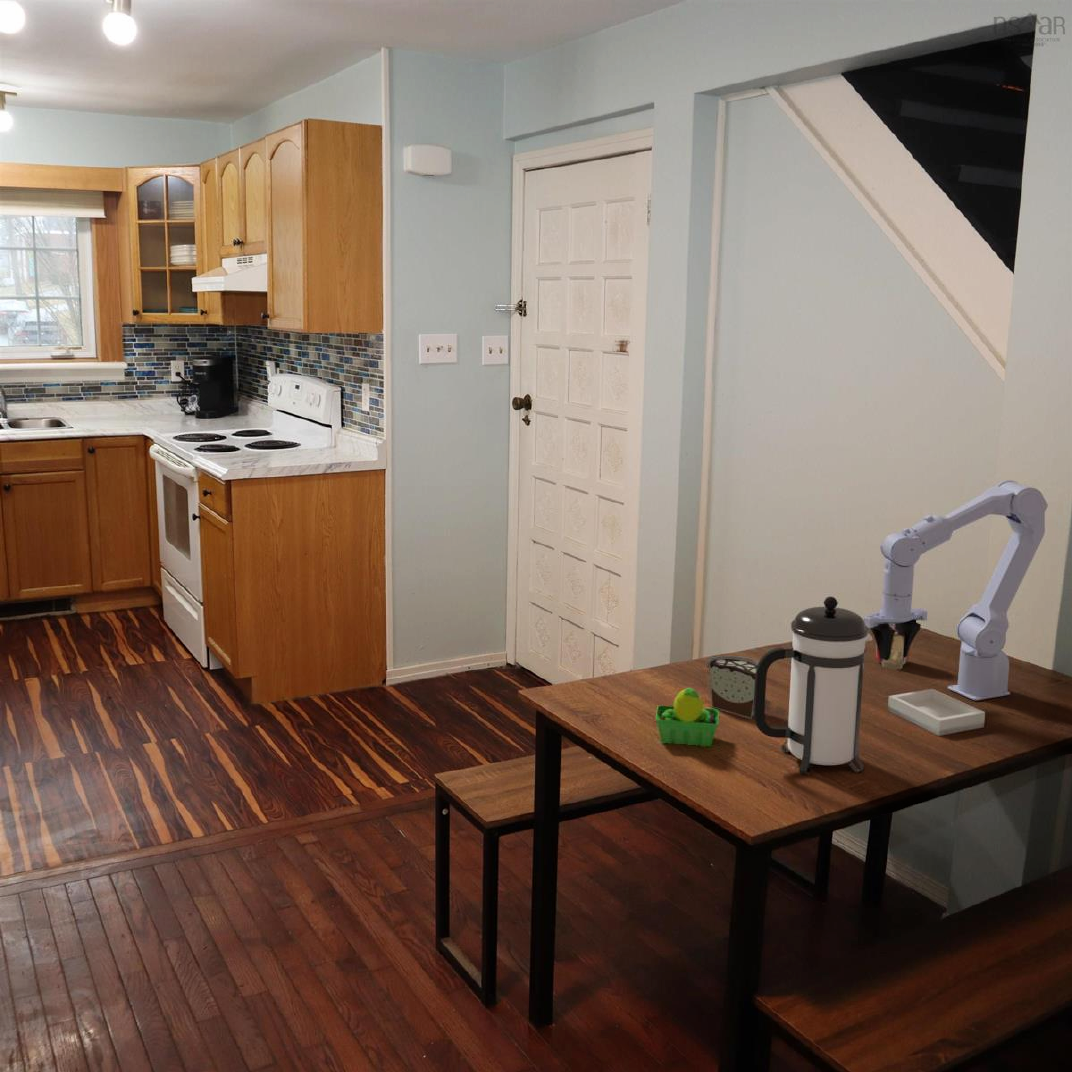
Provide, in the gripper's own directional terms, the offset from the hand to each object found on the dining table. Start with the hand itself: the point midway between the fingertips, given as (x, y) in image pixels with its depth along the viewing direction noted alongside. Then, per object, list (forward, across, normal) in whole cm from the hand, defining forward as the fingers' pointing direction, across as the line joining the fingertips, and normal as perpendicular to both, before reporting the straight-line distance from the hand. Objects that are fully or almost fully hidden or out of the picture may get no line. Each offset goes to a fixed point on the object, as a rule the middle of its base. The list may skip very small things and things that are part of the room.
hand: (892, 657), depth 224 cm
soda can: (+8, -14, -16) cm, 23 cm away
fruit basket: (+8, +51, +5) cm, 52 cm away
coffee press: (+8, +35, +22) cm, 42 cm away
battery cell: (+2, 0, 0) cm, 2 cm away
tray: (+8, +1, +14) cm, 16 cm away
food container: (+8, +33, -5) cm, 34 cm away
